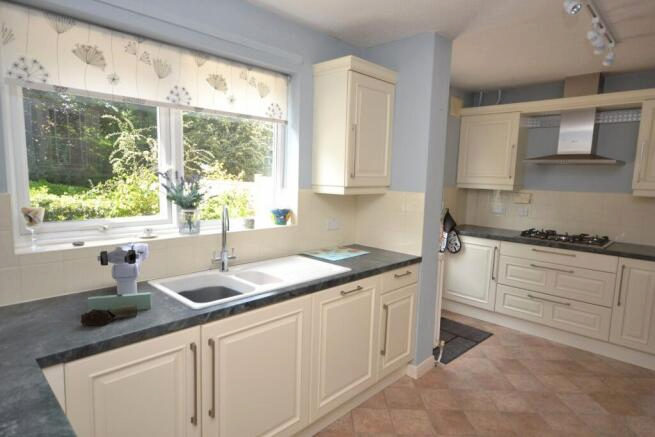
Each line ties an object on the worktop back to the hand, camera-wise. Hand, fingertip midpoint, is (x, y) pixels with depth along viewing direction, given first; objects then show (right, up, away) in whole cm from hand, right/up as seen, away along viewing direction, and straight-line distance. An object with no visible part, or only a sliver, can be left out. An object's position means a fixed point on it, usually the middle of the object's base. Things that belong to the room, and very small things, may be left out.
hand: (114, 260), depth 140 cm
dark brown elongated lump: (0, -23, -2) cm, 23 cm away
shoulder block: (-2, -21, +9) cm, 23 cm away
